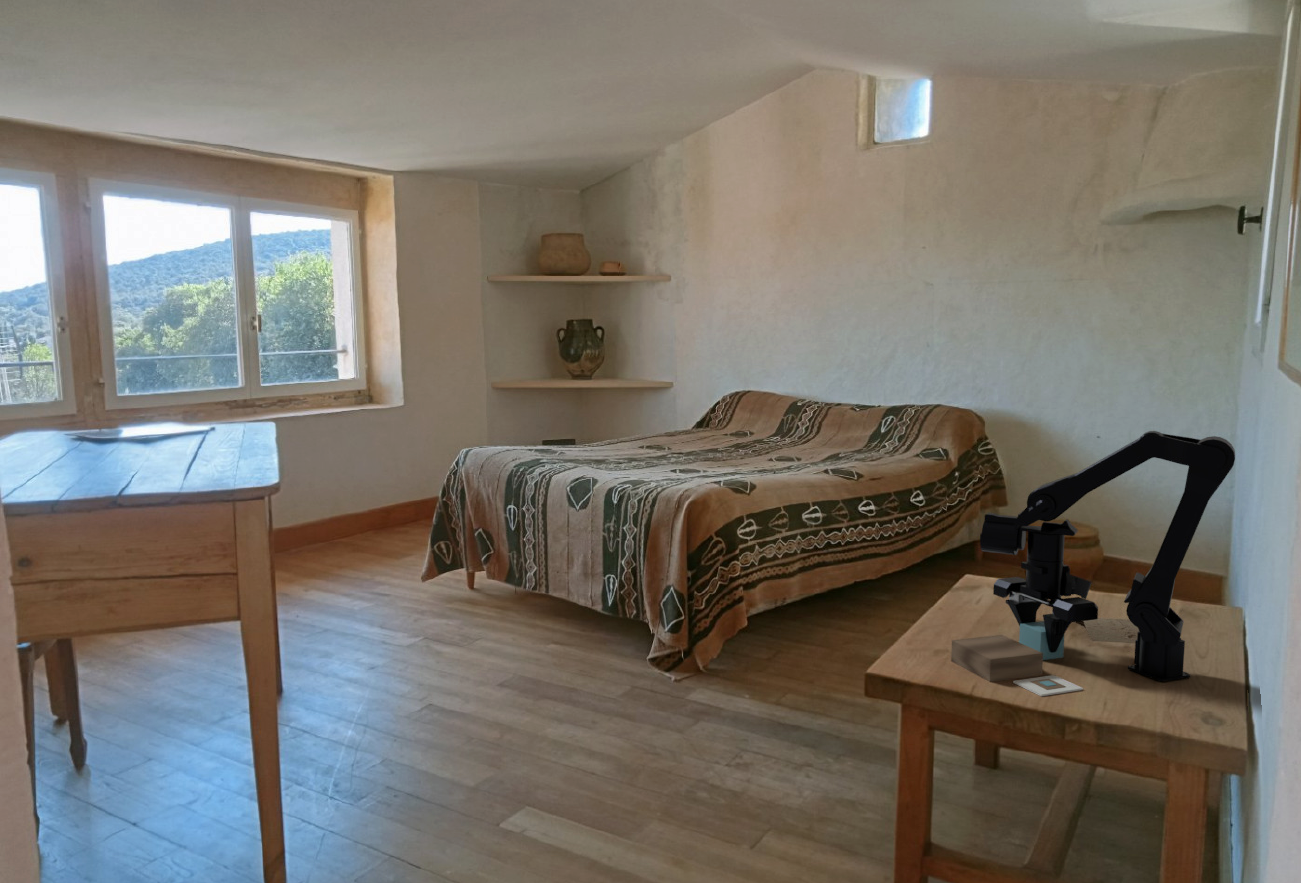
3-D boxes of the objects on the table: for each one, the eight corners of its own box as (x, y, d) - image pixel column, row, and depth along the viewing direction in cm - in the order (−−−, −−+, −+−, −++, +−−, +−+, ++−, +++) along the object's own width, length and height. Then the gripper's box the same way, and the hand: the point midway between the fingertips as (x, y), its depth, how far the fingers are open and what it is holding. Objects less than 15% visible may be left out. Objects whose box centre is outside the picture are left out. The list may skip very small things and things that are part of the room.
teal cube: (1063, 657, 156) (1064, 629, 155) (1039, 661, 154) (1041, 632, 154) (1041, 648, 161) (1043, 621, 160) (1018, 651, 159) (1019, 623, 159)
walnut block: (1041, 677, 148) (1043, 653, 147) (989, 683, 145) (990, 659, 144) (1000, 657, 157) (1001, 634, 157) (951, 663, 154) (951, 640, 154)
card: (1082, 689, 141) (1083, 686, 141) (1041, 696, 138) (1041, 693, 138) (1053, 676, 147) (1054, 673, 147) (1013, 682, 144) (1013, 679, 144)
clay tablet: (1067, 622, 178) (1068, 608, 178) (1122, 624, 176) (1123, 610, 176) (1092, 646, 164) (1093, 631, 163) (1152, 649, 162) (1153, 634, 162)
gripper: (1126, 566, 150) (1121, 659, 151) (1042, 543, 167) (1039, 627, 169) (1072, 572, 146) (1068, 667, 148) (992, 548, 164) (989, 633, 165)
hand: (1041, 647), depth 157 cm, fingers open, 5 cm apart
